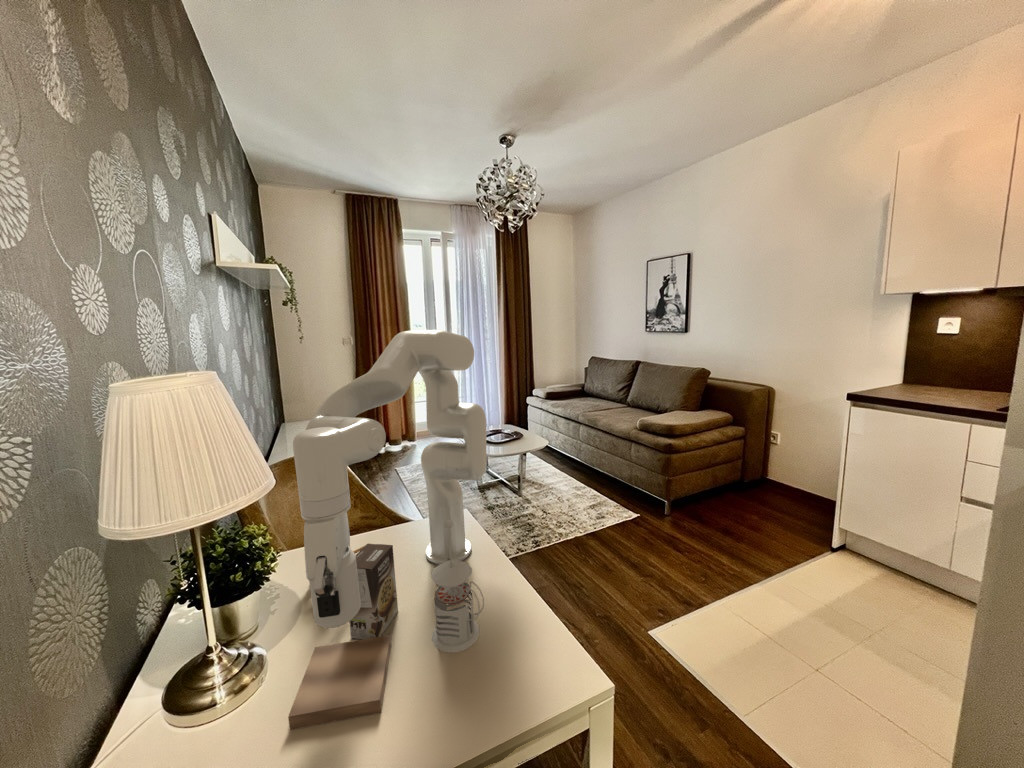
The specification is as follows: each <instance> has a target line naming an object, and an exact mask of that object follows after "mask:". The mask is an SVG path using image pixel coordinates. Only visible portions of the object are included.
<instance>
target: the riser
mask: <svg viewBox="0 0 1024 768" xmlns="http://www.w3.org/2000/svg"><path fill="white" fill-rule="evenodd" d="M391 649H392V641H391V635H389V634H388V635H384V636H383V635H381V637H376V638H369V639H357V640H352V641H345V642H338V643H331V644H327V645H320V646H315V647H314V649H313V651H312V654H311V655H310V659H309V662H308V664H307V666H306V669H305V672H304V675H303V677H302V680H301V683H300V685H299V688H298V691H297V692H296V696H295V698H294V700H293V702H292V703H293V704H292V706H291V708H290V711H289V713H288V716H287V718H288V725H289V730H290V731H291V730H298V729H303V728H308V727H313V726H317V725H322V724H323V725H324V724H330V723H334V722H339V721H340V722H341V721H345V720H351V719H354V718H355V719H356V718H361V717H366V716H371V715H376V714H380V713H382V709H383V701H384V697H385V689H386V688H385V687H386V683H387V676H388V668H389V662H390V655H391Z"/></svg>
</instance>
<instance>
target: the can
mask: <svg viewBox="0 0 1024 768" xmlns="http://www.w3.org/2000/svg"><path fill="white" fill-rule="evenodd" d="M351 550H352V548H351V545H350V546H347V551H346V554H345V556H344V557H343V558H342V566H341V570H340V573H339V574H338V575H337V576H336V591H338V593H339V602H340V614H339V615H336V616H330V617H323V618H320V617H319V613H318V605H317V598H316V593H315V591H314V590H313V584H314V579H313V580H311V581H309V580H308V581H309V589H310V599H311V606H312V613H313V614H312V615H313V620H314V623H315V624H316V625H317V626H319V627H322V628H325V629H336V628H340V627H342V626H345V625H346V624H348V623H349V621H351V620H352V619H353V618H354V616H355V615H356V614H357V613H358V611H359V610H360V605H361V603H360V593H359V583H358V573H357V564H356V553H354V552H353V551H354V550H352V551H351ZM327 574H332V572H331V571H330V570H329V569H327V570H326V575H327ZM314 578H315V577H314ZM325 583H326V585H329V586H330V587H331V578H328V579H325Z"/></svg>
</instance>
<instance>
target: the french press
mask: <svg viewBox="0 0 1024 768" xmlns="http://www.w3.org/2000/svg"><path fill="white" fill-rule="evenodd" d="M453 526H454V523H453V521H452V520H446V521H445V523H444V527H445V528H449V544H450V560H451V561H447V562H444V563H442V564H438V565H437V566H436V567H434V569H433V570H432V572H431V580H432V581H433V583H434V584H436V585H437V586H438V587H437V588H436V589H435V593H434V594H435V595H434V596H435V597H434V602H433V603H434V604H433V605H434V617H435V628H434V629H433V631H432V633H431V641H432V643H433V645H434V647H435V648H436V649H438V650H439V651H441V652H444V653H458V652H463V651H464V650H467V649H469V648H470V647H471V646H473V644H475V643H476V641H477V640H478V638H479V636H480V627H479V625H478V623H477V622H476V619H477V618H478V617H479V615H480V614H481V613H482V612H483V610H484V607H485V598H484V594H483V592H482V590H481V589H480V587H479V586H478V585H477V583H475V582H474V581H470V582H469V583H468V582H467V581H469V579H470V577H471V575H472V573H473V572H472V571H473V569H472V566H471V565H470V564H469V563H467V562H465V561H463V560H462V561H458V560H455V561H452V559H451V543H450V528H452V527H453ZM472 584H473V585H474V586H476V588H477V589H478V591H479V593H480V595H481V597H482V607H481V608H480V601H479V598H478V597H477V595H476V592H474V589H472ZM473 597H475V598H476V602H477V607H478V608H477V609H478V611H477V612H476V613H474V600H473ZM468 599H469V600H468ZM462 603H467V604H463V605H461V604H462ZM457 605H460V606H457ZM455 606H456V607H455ZM451 607H453V608H451ZM448 608H449V609H448ZM450 608H451V609H450ZM480 609H481V610H480ZM474 616H475V617H474Z"/></svg>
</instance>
